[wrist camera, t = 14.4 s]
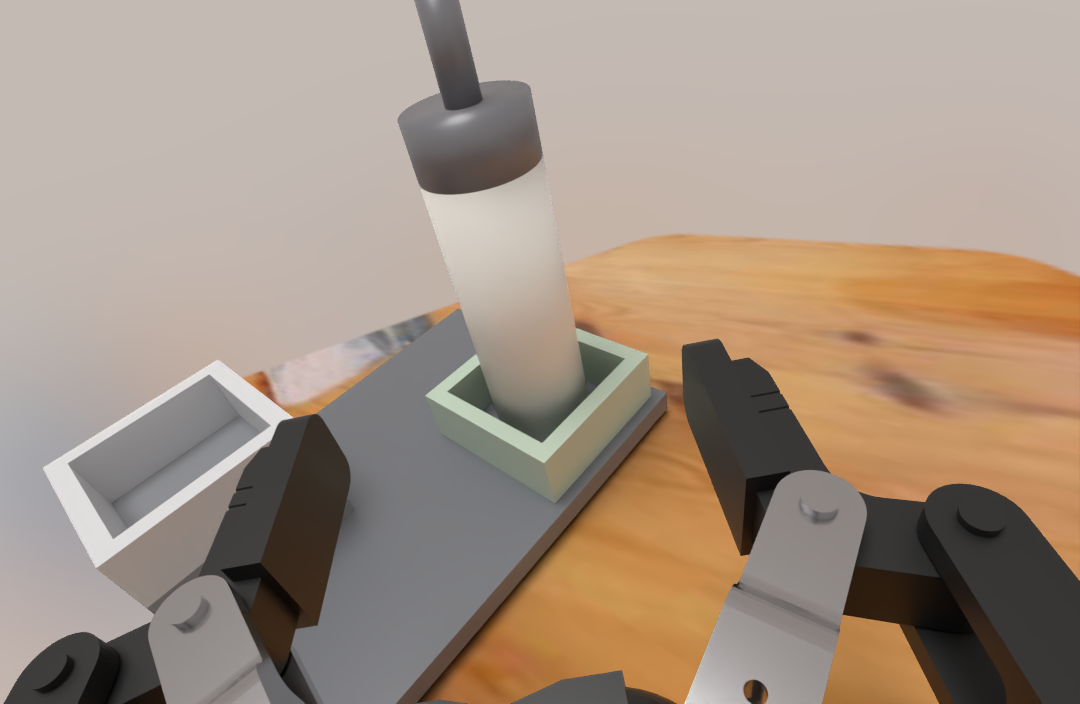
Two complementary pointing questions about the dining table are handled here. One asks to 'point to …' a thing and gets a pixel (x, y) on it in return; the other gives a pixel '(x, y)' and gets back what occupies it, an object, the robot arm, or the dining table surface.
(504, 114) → the plug
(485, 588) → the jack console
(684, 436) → the dining table surface
